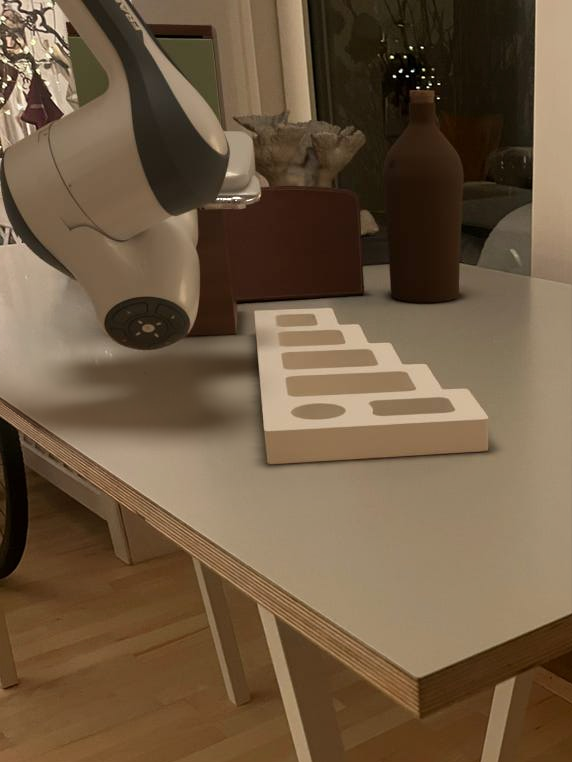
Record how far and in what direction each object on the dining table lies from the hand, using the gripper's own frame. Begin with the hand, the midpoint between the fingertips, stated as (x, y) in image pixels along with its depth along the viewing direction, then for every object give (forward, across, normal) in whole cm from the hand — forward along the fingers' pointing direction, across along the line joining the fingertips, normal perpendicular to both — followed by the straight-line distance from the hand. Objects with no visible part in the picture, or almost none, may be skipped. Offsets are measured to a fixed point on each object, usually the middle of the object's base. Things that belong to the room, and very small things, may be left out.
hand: (147, 117), depth 98 cm
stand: (-1, 0, +26) cm, 26 cm away
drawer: (+5, 0, +4) cm, 6 cm away
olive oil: (+11, -31, +33) cm, 47 cm away
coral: (+40, -16, +50) cm, 66 cm away
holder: (-25, -18, +12) cm, 33 cm away
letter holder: (+15, -12, +36) cm, 41 cm away
